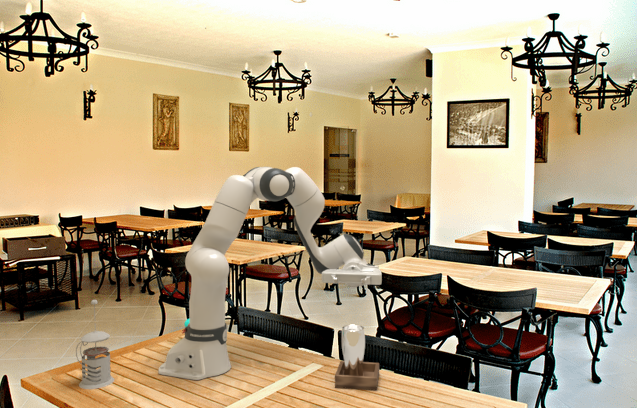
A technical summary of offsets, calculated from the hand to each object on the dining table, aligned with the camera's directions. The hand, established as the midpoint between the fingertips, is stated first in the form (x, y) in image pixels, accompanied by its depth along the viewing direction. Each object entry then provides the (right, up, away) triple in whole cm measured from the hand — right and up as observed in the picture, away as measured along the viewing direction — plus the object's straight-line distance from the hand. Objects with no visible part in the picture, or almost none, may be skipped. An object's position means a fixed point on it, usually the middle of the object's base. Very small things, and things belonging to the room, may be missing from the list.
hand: (349, 281), depth 160 cm
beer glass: (+1, -27, -12) cm, 29 cm away
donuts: (-53, -27, +20) cm, 63 cm away
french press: (-77, -29, -11) cm, 83 cm away
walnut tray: (+2, -28, -12) cm, 30 cm away
